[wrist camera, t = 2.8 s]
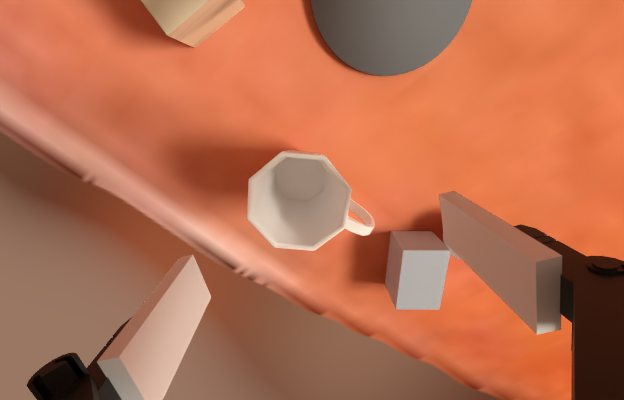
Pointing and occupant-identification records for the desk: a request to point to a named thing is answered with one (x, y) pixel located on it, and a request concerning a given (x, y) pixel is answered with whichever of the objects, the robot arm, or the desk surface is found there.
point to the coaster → (388, 31)
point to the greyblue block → (416, 269)
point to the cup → (302, 202)
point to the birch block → (192, 17)
